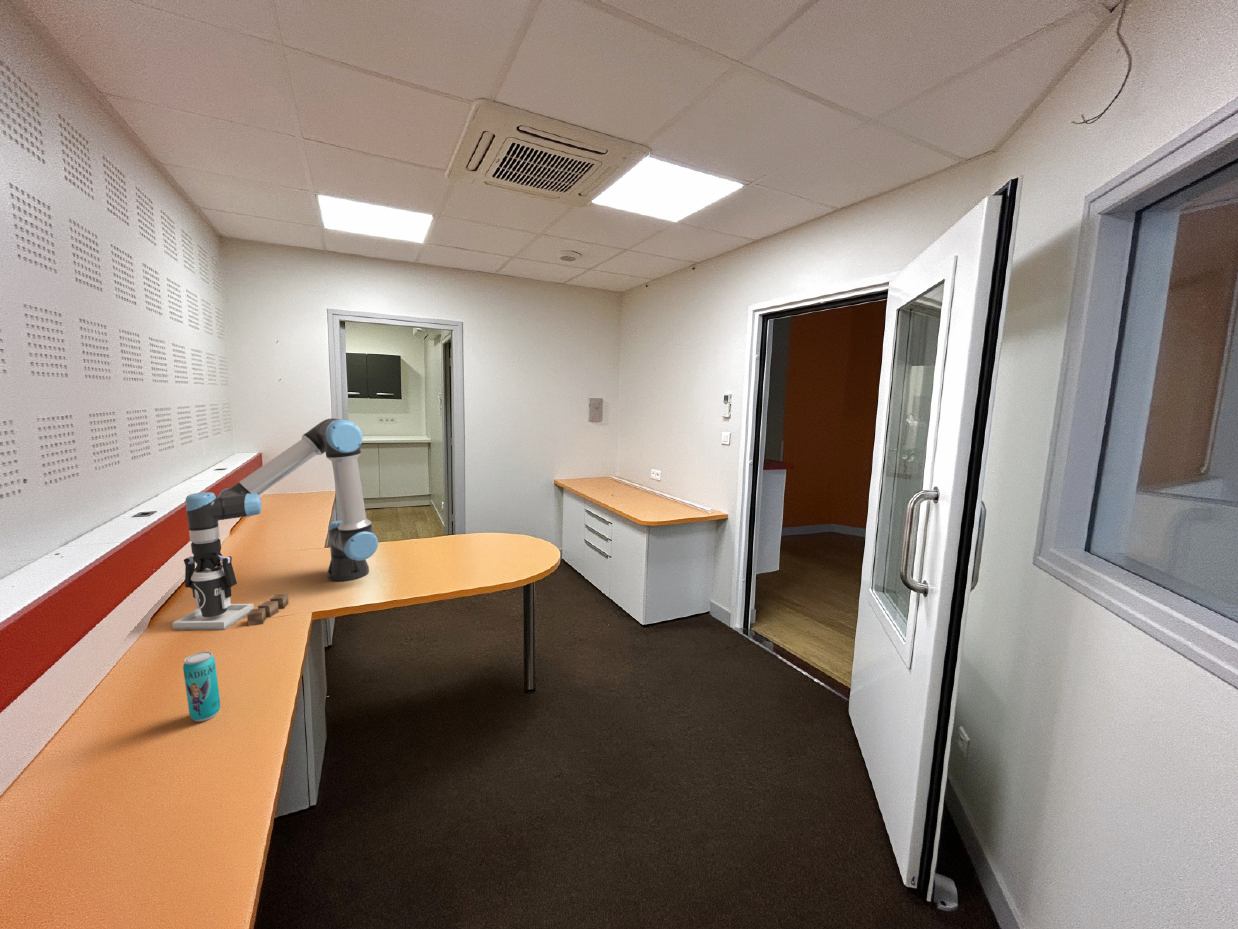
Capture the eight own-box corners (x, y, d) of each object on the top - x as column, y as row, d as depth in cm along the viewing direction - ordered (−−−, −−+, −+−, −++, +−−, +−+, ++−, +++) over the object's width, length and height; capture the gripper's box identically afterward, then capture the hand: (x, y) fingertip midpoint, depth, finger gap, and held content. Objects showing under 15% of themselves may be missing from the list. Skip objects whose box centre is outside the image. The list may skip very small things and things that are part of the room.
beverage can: (186, 726, 118) (178, 665, 116) (195, 712, 124) (187, 653, 121) (217, 720, 121) (209, 660, 118) (224, 706, 126) (217, 648, 123)
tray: (253, 610, 179) (253, 603, 178) (224, 629, 165) (223, 622, 164) (206, 611, 178) (205, 604, 178) (173, 630, 164) (172, 622, 164)
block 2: (278, 612, 178) (277, 601, 177) (270, 617, 174) (269, 606, 173) (267, 612, 178) (266, 600, 177) (259, 617, 174) (257, 605, 173)
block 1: (266, 619, 172) (264, 607, 172) (262, 624, 169) (261, 612, 168) (251, 621, 171) (250, 609, 170) (248, 626, 167) (247, 614, 167)
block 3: (288, 604, 184) (287, 593, 183) (283, 609, 180) (282, 598, 180) (276, 605, 183) (275, 594, 183) (271, 610, 179) (269, 599, 179)
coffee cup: (212, 620, 166) (206, 576, 163) (188, 618, 167) (181, 574, 165) (239, 608, 175) (234, 565, 172) (216, 605, 177) (210, 563, 174)
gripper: (245, 536, 171) (253, 601, 175) (182, 537, 171) (191, 602, 174) (229, 543, 164) (237, 611, 167) (163, 544, 163) (173, 612, 167)
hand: (213, 606), depth 171 cm, fingers closed on coffee cup, 8 cm apart
